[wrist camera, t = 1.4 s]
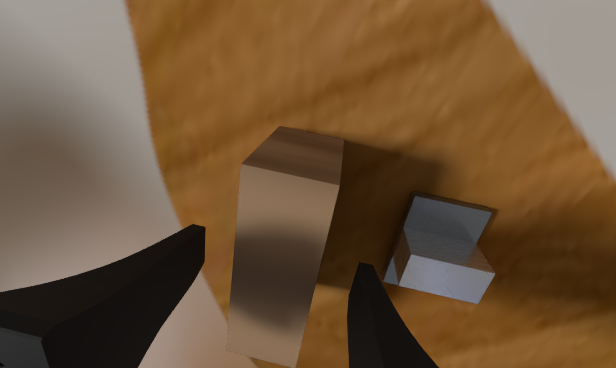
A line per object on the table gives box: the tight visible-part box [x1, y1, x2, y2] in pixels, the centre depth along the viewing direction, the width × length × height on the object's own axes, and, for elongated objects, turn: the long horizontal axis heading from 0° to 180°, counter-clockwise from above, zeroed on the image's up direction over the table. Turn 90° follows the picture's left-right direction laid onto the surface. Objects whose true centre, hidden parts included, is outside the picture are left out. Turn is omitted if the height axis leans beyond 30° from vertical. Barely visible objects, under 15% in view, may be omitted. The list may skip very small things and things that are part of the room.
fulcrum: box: [382, 191, 495, 304], centre depth 16 cm, size 6×4×3 cm, turn 170°
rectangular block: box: [226, 126, 344, 368], centre depth 15 cm, size 10×4×6 cm, turn 170°
